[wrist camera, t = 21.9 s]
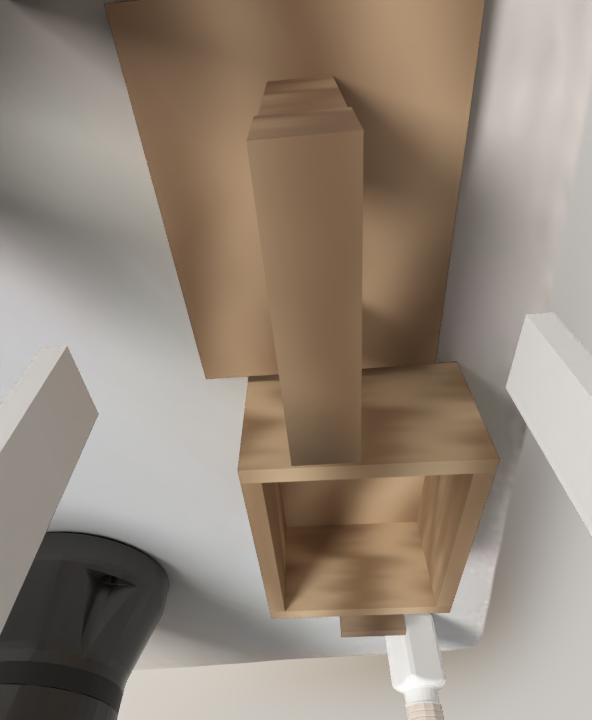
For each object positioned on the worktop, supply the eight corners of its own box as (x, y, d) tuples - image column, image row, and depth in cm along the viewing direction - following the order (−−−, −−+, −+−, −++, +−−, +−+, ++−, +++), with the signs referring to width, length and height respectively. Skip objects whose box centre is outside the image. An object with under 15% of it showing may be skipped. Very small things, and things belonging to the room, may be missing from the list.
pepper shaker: (433, 611, 47) (460, 728, 39) (414, 627, 49) (436, 740, 42) (398, 605, 46) (418, 723, 39) (380, 621, 48) (396, 736, 41)
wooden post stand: (208, 365, 27) (175, 514, 19) (114, 3, 16) (-40, 12, 9) (430, 350, 26) (486, 497, 19) (478, -36, 16) (652, -62, 8)
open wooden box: (274, 525, 37) (271, 618, 31) (248, 373, 27) (237, 470, 21) (426, 519, 36) (449, 612, 31) (457, 361, 26) (499, 458, 21)
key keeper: (338, 603, 46) (341, 637, 43) (338, 558, 40) (340, 593, 38) (399, 601, 45) (405, 635, 43) (407, 556, 40) (414, 591, 38)
